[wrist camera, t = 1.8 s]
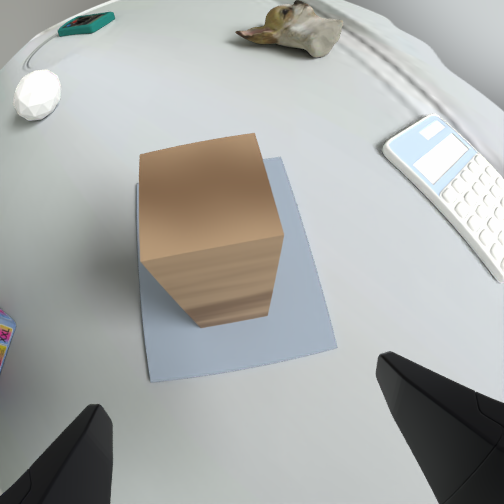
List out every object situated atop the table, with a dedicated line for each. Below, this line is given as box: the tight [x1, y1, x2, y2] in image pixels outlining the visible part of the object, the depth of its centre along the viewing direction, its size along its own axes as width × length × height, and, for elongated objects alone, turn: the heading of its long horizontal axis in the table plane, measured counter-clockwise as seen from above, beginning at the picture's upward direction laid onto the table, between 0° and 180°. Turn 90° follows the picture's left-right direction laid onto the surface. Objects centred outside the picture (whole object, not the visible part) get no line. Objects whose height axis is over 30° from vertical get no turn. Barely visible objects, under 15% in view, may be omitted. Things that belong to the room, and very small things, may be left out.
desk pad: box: [137, 157, 338, 382], centre depth 24 cm, size 18×14×1 cm
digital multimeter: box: [58, 12, 115, 37], centre depth 48 cm, size 8×15×3 cm, turn 64°
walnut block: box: [139, 133, 284, 328], centre depth 17 cm, size 5×5×13 cm
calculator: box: [382, 114, 504, 283], centre depth 27 cm, size 13×20×2 cm, turn 37°
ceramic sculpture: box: [236, 0, 343, 58], centre depth 35 cm, size 11×9×15 cm
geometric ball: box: [13, 70, 61, 121], centre depth 31 cm, size 8×8×8 cm
